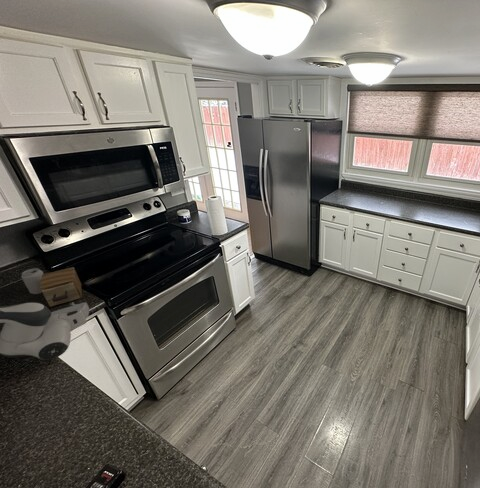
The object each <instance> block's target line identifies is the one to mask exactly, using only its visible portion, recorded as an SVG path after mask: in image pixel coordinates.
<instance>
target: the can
mask: <svg viewBox="0 0 480 488" xmlns="http://www.w3.org/2000/svg"><path fill="white" fill-rule="evenodd" d="M42 274H44V272H43V270H41V269H40V268H35V267H34V268H29V269H27V270H24V271H23V272H21V276H20V279H21V280H22V281H23V284H24V285H25V286H26V288H27V290H28V292H29V294H31V295H39V294H43V293H42V291H41V289H40V285H41V279H42Z"/></svg>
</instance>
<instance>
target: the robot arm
mask: <svg viewBox="0 0 480 488" xmlns="http://www.w3.org/2000/svg"><path fill="white" fill-rule="evenodd" d="M89 315H90V306H89V304H88V303H87V302H81V303H77V304H76V303H75V302H74V301H71V302H69V303H68V306H67V307H63V308H60V309H57V310H54V311H52V312H51V310H50V308H49V307H48V306H46V305H45V304H43V303H41V302H32V301H30V302H29V301H28V302H22V303H16V304H11V305H3V306H0V324H3V327H2V329H1V331H0V355H1V356H3V357H6V358H12V359H13V358H14V359H15V358H17V359H18V358H26V357H30V356H31V357H35V358H37V359H39V360H43V361H49V360H50V361H51V360H54V359H56V358H59V357H60V356H62V355H64V354H65V353H66V352H67V350H68V349H69V347H70V344H71V339H72V333H71V332H73V331H74V330H76V329H78V328H80V327H81V326H83V325H86V324H87V318H88V317H89Z"/></svg>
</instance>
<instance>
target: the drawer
mask: <svg viewBox="0 0 480 488" xmlns="http://www.w3.org/2000/svg"><path fill="white" fill-rule="evenodd" d="M42 292H43V293H42V295H43V294H44V295H43V297H44V296H45V297H44V299H45V298H46V299H45V301H46V300H47V301H46V303H47V302H48V303H47V304H48V306H49V305H50V306H49V308H52V307H54V306H58V305H61V304H65V303H68V302H69V303H70V302H73V301H75V300H79V299H80V297H79V295H78V293H77V290H76V288H75V286H74V284H73V282H68V283H64V284H60V285H56V286H52V287H48V288H45V290H42Z"/></svg>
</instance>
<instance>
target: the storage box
mask: <svg viewBox="0 0 480 488" xmlns="http://www.w3.org/2000/svg"><path fill="white" fill-rule="evenodd" d="M68 282H73V284H74V286H75V288H76V290H77V293H78V295H79V297H80V298H82V297H83V294H82V293H83V292H82V282H81V280H80V278H79V276H78V274H77V271H76V268H75V267H74V266H72V267H68V268H65V269H59V270H55V271H52V272H46V273H43V274H42V279H41V285H40V289H41V291H42V290H45V288H48V287H52V286H56V285H60V284H64V283H68ZM41 294H42V295H43V297H44V299H45V301H46V303H47V304H48V302H47V300H46V298H45V296H44V294H43V292H42V293H41ZM80 298H79V299H80ZM48 306H49V307H50V305H49V304H48Z"/></svg>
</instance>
